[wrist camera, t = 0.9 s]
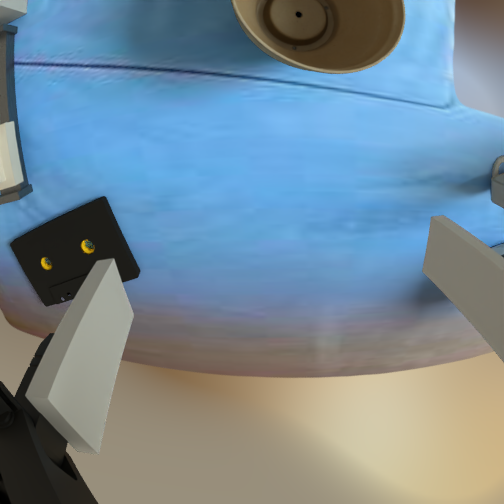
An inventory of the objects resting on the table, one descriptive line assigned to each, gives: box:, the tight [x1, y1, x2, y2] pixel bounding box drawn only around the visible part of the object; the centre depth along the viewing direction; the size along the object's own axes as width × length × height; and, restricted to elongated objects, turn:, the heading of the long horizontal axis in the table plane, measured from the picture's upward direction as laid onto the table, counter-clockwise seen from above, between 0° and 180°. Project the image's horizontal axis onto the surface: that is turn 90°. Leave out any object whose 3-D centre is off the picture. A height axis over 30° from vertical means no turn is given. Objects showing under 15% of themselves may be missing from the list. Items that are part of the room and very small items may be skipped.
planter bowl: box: [231, 0, 405, 74], centre depth 23 cm, size 16×16×11 cm
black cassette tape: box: [10, 196, 140, 306], centre depth 37 cm, size 18×12×2 cm, turn 106°
